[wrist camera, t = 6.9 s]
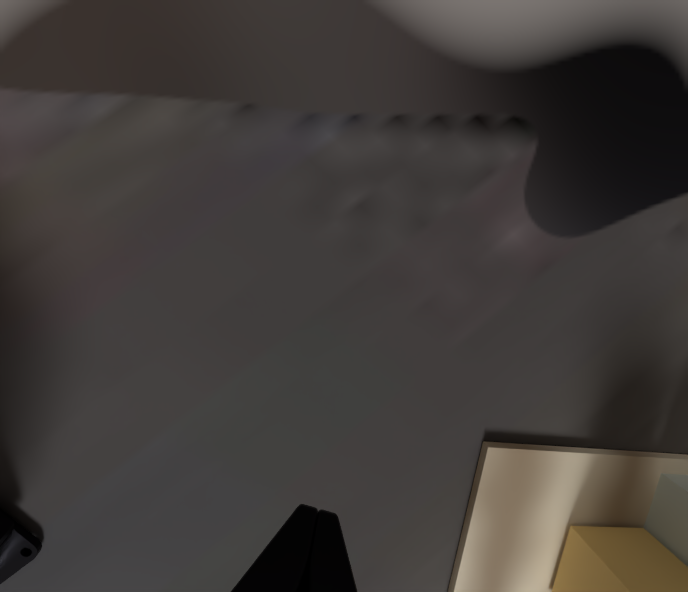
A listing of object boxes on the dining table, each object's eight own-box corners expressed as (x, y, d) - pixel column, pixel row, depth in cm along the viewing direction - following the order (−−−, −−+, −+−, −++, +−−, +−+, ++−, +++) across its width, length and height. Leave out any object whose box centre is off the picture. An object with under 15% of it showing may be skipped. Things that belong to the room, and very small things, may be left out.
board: (434, 646, 26) (438, 656, 26) (483, 441, 24) (488, 447, 23) (666, 640, 29) (674, 648, 29) (731, 457, 27) (741, 462, 26)
